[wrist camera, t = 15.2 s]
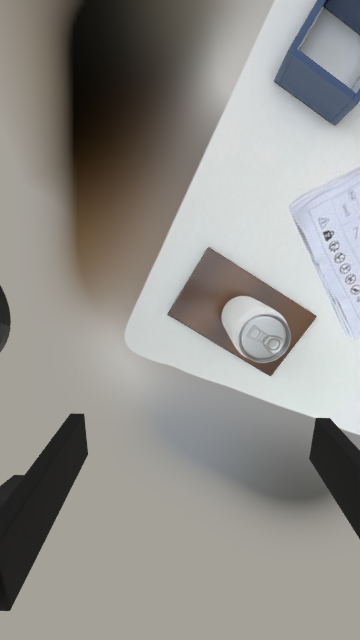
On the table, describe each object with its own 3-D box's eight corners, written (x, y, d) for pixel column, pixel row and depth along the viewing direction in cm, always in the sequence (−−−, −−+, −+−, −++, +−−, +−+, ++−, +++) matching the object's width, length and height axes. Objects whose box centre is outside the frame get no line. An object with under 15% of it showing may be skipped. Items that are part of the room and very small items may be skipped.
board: (168, 313, 39) (167, 314, 38) (208, 247, 37) (208, 247, 36) (268, 373, 41) (270, 376, 40) (313, 315, 38) (317, 316, 37)
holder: (273, 81, 32) (287, 52, 27) (323, -5, 29) (346, -51, 25) (334, 125, 32) (357, 104, 28) (386, 46, 30) (420, 9, 26)
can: (247, 342, 39) (272, 376, 27) (213, 323, 38) (223, 349, 27) (270, 308, 37) (307, 328, 26) (235, 287, 37) (256, 298, 25)
